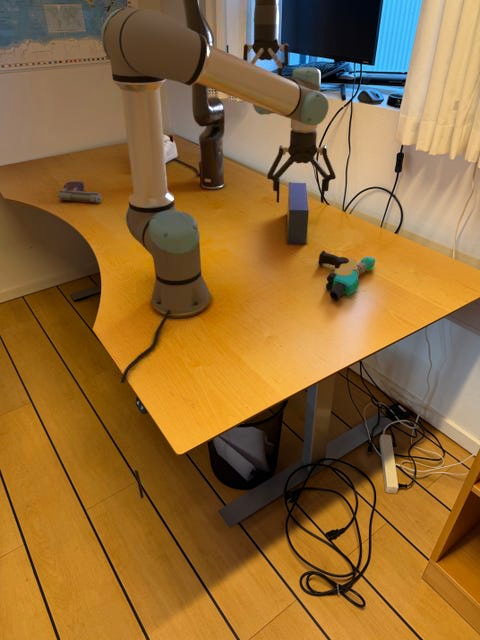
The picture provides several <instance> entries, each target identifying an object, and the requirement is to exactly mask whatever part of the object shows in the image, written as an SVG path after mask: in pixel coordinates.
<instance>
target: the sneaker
mask: <svg viewBox="0 0 480 640" xmlns="http://www.w3.org/2000/svg"><path fill="white" fill-rule="evenodd" d="M163 138H164V151H165V164H167V163H168V162H170V161H172V160H174V158H175V159H177V157H178V156H179V155H178V149H177V144H176V140H175V136H174V135H173V134H164V133H163Z"/></svg>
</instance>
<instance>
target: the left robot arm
mask: <svg viewBox="0 0 480 640" xmlns="http://www.w3.org/2000/svg"><path fill="white" fill-rule="evenodd" d="M100 35H101V46H102V49H103V51H104V53H105V55H106V57H107V58H108V60H109V61H110V62H109V63H110V68H111V76H112V82H113V83H114V84H115V85H116V86H117V87H118V88H119V89H120V92H121V93H120V94H121V100H122V108H123V116H124V125H125V133H126V141H127V142H126V143H127V149H128V150H127V151H128V156H129V157H128V159H129V167H130V175H131V182H132V183H131V184H132V190H133V191H132V193H131V194H130V195H129V197H128V200H127V201H128V208H127V209H126V212H125V223H126V226H127V229H128V231H129V233H130V235H131V236H132V237H133V238H134V239H135V240H136V241H137V242H138V243H139V244H140V245H141V246H142V247H143V248H144V249H145V250H146V251H147V252H148V253H149V254H150V256H151V257H152V260H153V261H152V262H153V268H154V274H155V275H154V276H155V281H154V284H153V290H152V294H151V305H152V308H153V310H154V311H155V312H156V313H157V314H159V315H160V316H163V317H162V320H161V321H160V323H159V325H158V327H157V329H156V331H155V333H154V337H153V341H152V343H151V345H149V347H148V348H146V349H145V350H144V351H143V352H141V353H140V354H138V356H136V357H135V359H133V360H132V361H131V362H130V363H129V364H128V365H127V366H126V368H125V369H124V371H123V373H122V376H121V379H120V383H121V384H124V383H125V382H126V379H127V376H128V373H129V371H130V370H131V369H132V368H133V367H134V365H136V364H137V363H138V362H139V361H140V360H141V359H142V358H143V357H145V356H146V355H147V354H149V353H150V352H151V351H152V350H154V348H155V347H156V345H157V343H158V339H159V334H160V332H161V330H162V328H163V326H164V324H165V323H166V321H167V319H168V318H171V319H183V318H185V319H186V318H190V317H194V316H196V315H199V314H201V313H202V312H204V311H205V310H207V308H208V307H209V306H210V303H211V294H210V290H209V288H208V286H207V284H206V281H205V278H204V277H203V275H202V262H201V261H202V259H201V243H200V242H201V241H200V239H201V238H200V237H201V236H200V235H201V234H200V230H199V226H198V222H197V220H196V218H194V216H192V215H191V214H190V213H187V212H185V211H180V210H177V209H176V203H175V196H174V194H173V193H172V192H170V190H169V189H168V177H167V165H166V164H167V163H165V151H164V138H163V134H164V125H163V114H162V101H161V87H162V86H163V84H164V83H165V82H166V81H167V80H168V81H173V82H177V83H180V84H182V85H186V86H189V87H190V86H191V87H192V85H193V84H195V83H198V84H201V85H204V86H206V87H208V88H209V89H212V90H215V91H217V92H220V93H223V94H225V95H228V96H231V97H233V98H236V99H238V100H241V101H244V102H246V103H249V104H251V105H252V106H253V109H254V110H255V112H256V113H257V114H258V115H260V116H262V115H263V116H264V115H267V116H268V115H271V114H275V115H278V116H282V117H284V118H287V119H290V129H291V130H290V132H289V146H288V147H286V146H283V145H279V147H278V153H277V156H276V157H275V159H274V161H273V162H272V165H271V166H270V169H269V171H268V172H267V175H266V177H267V180H271V181H272V190H273V192H276V203H280V185H281V184H280V183H281V182H280V179H281V177H282V175H283V174H284V173H285V172H286V171H287V170H288V169H289V168H290V167H291V166H292V165H293V164H294V163H296V164H308V163H311V165H312V166H313V167H314V168H315V169H316V170H317V172H318V173H319V174H320V175H321V177H322V179H321V187H320V189H321V190H320V203H321V204H324V202H325V192H328V191H329V186H330V181H332V180H336V179H337V176H336V173H335V170H334V168H333V166H332V163H331V160H330V159H329V156H328V150H327V149H328V148H327V146H326V145H322V146H319V147H317V138H318V137H317V136H318V131H317V129H318V126H319V125H320V124H321V123H323V122H324V120H325V119H326V117H327V115H328V112H329V108H330V107H329V105H330V104H329V99H328V98H327V96H326V95H325V93H323V92H321V88H322V83H321V81H322V79H321V78H322V77H321V73H322V72H321V70H320V69H318V68H316V67H313V66H311V67H310V66H301V67H296V68H294V69H293V70H292V75H291V78H286V77H284V76H282V77H281V76H279V75H278V73H275V72H272V71H270V70H268V69H265V68H263V67H261V66H258V65H256V64H252V63H250V62H251V61H250V62H249V61H248V60H247V61H245V60H243V58H241V57H238V56H236V55H234V54H232V53H229V52H227V51H225V50H223V49H221V48H218V47H216V46H215V47H214V46H212V45H209V44H207V41H206V38H205V37H204V36H203V35H201V34H199V33H197V32H194V31H193V30H191V29H189V28H187V27H186V25H183V24H181V23H179V22H178V21H177V20H175V19H173V18H172V17H170V16H168V15H166V14H164V13H162V12H160V11H158V10H154V9H147V8H139V7H135V6H127V7H121V8H118V9H115V10H114V11H112V12H111V13H110V14H109V15H108V16H107V18H106V19H105V20H104V23H103V24H102V28H101V34H100ZM286 153H288V154H289V157H288V159H287V160H286V161H285V162H284V163H283V164H282V165H281V167H280V168H279V169H278V170H277V168H278V166H279V164H280V162H281V161H282V158H283V156H285V155H286ZM317 153H319V155H320V156H322V158H323V161H324V163H325V166H326V168H327V171H328V173H329V174H328V173H327V171H326V170H325V169H324V168H323V166H322V165H321V164H320V163H319V161H318V159H316V155H317ZM276 170H277V171H276ZM275 171H276V172H275ZM133 472H134V474H135V479H136V483H137V487H138V491H139V496H140V499H144V497H145V495H144V491H143V486H142V482H141V477H140V473H139V470H136V469H135V470H134V471H133Z"/></svg>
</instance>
